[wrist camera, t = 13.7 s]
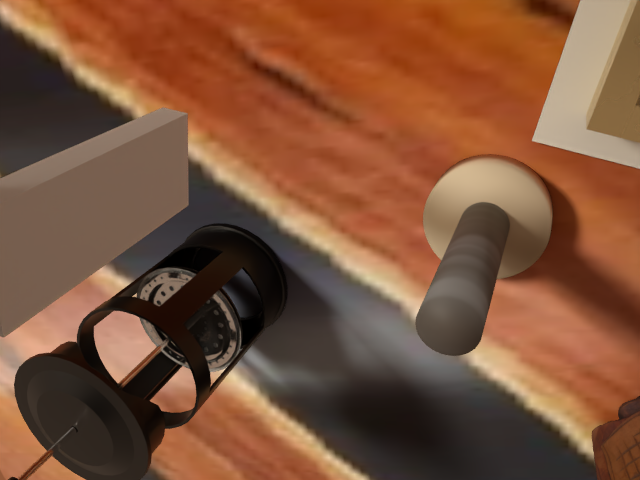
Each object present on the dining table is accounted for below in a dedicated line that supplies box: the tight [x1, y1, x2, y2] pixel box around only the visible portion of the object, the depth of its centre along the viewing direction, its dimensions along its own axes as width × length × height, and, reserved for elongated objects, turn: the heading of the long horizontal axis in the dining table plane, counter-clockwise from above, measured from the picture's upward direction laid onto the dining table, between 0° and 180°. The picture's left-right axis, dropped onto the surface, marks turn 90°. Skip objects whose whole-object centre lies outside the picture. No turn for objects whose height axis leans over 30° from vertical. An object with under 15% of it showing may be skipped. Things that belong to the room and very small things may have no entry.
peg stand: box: [416, 154, 553, 356], centre depth 30 cm, size 7×7×13 cm
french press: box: [8, 224, 287, 480], centre depth 36 cm, size 12×9×23 cm
